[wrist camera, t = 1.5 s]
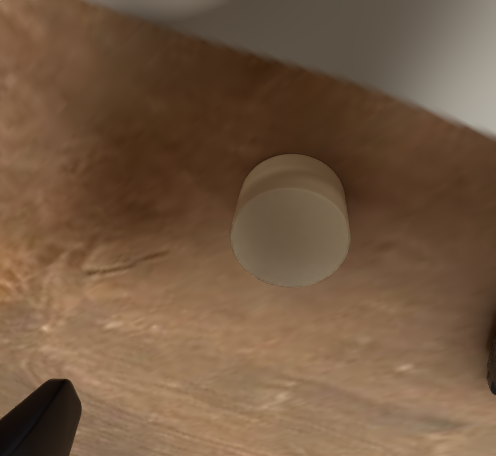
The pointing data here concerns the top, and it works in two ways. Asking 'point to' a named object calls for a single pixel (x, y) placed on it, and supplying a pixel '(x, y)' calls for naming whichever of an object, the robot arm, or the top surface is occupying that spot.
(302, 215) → the cylinder
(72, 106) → the top surface
